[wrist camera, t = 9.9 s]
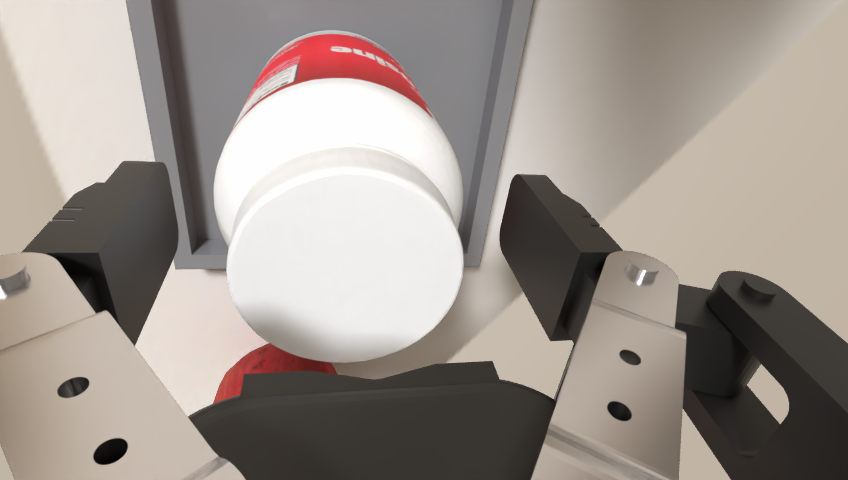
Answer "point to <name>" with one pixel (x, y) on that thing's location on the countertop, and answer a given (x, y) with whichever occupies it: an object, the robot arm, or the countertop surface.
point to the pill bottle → (339, 204)
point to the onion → (266, 368)
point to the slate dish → (296, 16)
